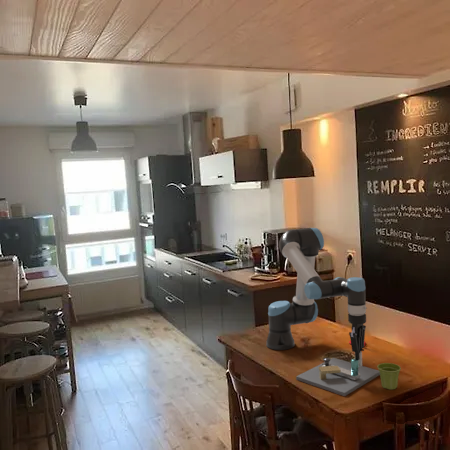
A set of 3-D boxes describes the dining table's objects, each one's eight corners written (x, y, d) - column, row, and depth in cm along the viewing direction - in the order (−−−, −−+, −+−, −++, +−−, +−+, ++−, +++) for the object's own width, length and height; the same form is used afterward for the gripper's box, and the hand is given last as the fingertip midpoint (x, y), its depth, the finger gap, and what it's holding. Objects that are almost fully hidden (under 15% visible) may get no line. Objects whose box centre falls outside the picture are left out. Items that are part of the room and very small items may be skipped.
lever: (319, 368, 218) (318, 351, 218) (326, 365, 222) (325, 348, 221) (354, 380, 204) (354, 362, 203) (361, 377, 207) (360, 359, 206)
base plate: (296, 379, 213) (296, 376, 212) (333, 360, 232) (333, 357, 232) (344, 396, 194) (344, 392, 194) (380, 374, 214) (380, 371, 214)
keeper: (318, 376, 211) (318, 366, 211) (337, 374, 212) (337, 365, 211) (321, 380, 206) (321, 371, 206) (340, 379, 207) (340, 370, 206)
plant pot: (374, 382, 205) (373, 363, 205) (395, 381, 206) (394, 361, 205) (383, 392, 196) (382, 372, 195) (405, 390, 197) (404, 370, 196)
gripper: (359, 318, 199) (361, 372, 201) (371, 310, 209) (372, 362, 211) (342, 316, 203) (344, 369, 206) (354, 308, 214) (356, 359, 216)
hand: (358, 365), depth 208 cm, fingers closed
